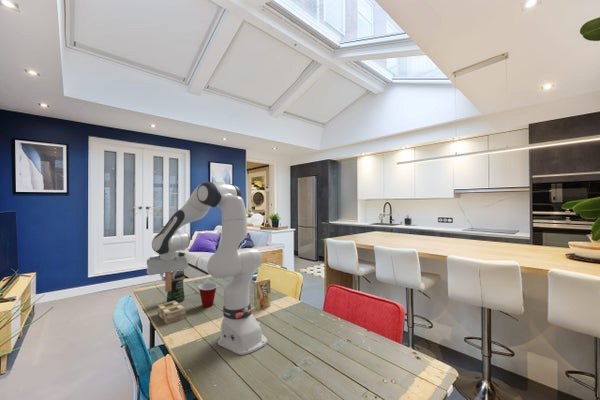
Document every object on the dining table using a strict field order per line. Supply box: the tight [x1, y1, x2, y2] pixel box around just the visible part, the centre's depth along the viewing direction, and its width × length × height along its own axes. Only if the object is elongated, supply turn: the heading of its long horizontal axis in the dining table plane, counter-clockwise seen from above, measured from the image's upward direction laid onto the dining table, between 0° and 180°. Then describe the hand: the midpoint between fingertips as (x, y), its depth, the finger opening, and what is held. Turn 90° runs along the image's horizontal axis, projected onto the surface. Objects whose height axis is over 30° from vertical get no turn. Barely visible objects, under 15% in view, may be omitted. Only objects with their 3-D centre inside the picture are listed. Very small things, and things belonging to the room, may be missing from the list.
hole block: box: [157, 301, 187, 325], centre depth 137 cm, size 16×9×5 cm, turn 45°
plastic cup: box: [197, 282, 218, 308], centre depth 150 cm, size 11×11×12 cm
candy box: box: [253, 278, 271, 311], centre depth 147 cm, size 9×4×15 cm, turn 129°
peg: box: [164, 271, 172, 293], centre depth 140 cm, size 3×3×12 cm
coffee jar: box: [166, 269, 185, 303], centre depth 157 cm, size 10×8×19 cm
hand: (168, 279), depth 140 cm, fingers closed on peg, 3 cm apart
